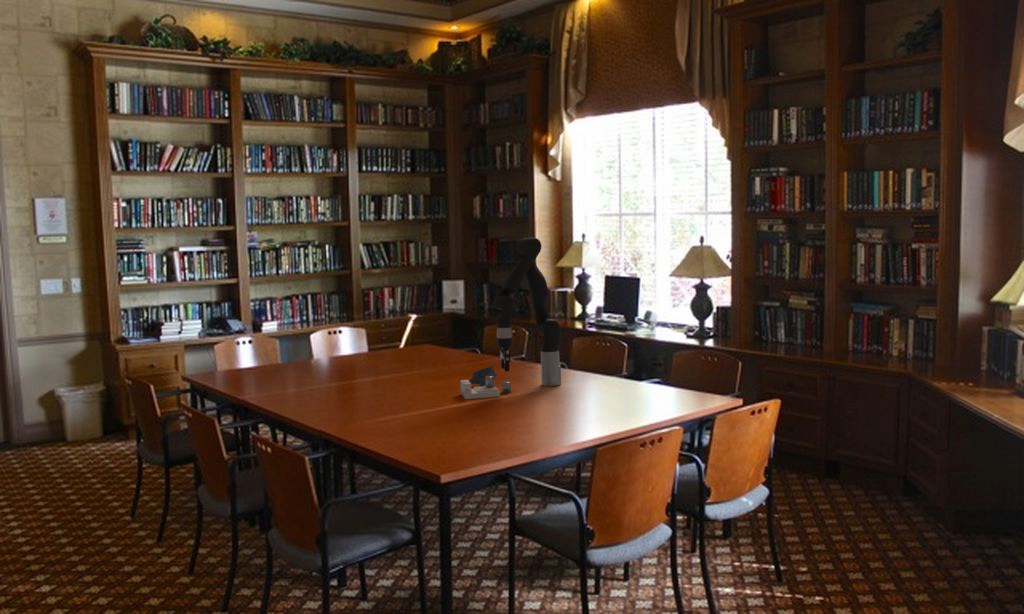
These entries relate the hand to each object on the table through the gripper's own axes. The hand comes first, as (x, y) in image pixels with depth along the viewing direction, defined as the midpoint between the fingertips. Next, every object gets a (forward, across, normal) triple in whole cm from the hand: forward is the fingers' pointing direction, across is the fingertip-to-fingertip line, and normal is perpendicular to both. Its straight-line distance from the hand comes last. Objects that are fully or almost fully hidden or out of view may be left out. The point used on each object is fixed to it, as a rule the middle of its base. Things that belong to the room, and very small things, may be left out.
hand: (505, 369), depth 439 cm
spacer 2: (+11, 0, 0) cm, 11 cm away
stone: (+11, +21, +8) cm, 25 cm away
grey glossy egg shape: (+8, 0, +8) cm, 11 cm away
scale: (+11, -3, +13) cm, 17 cm away
